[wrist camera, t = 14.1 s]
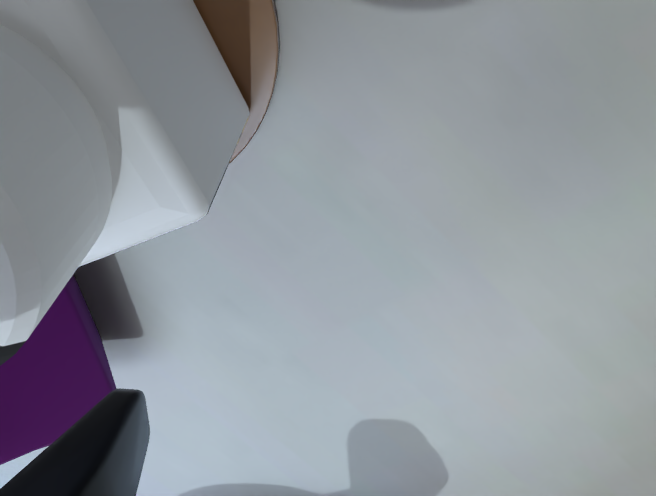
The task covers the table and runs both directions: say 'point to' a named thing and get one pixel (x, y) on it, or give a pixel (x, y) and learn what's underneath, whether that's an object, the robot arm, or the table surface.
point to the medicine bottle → (102, 138)
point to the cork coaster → (246, 52)
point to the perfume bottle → (52, 377)
